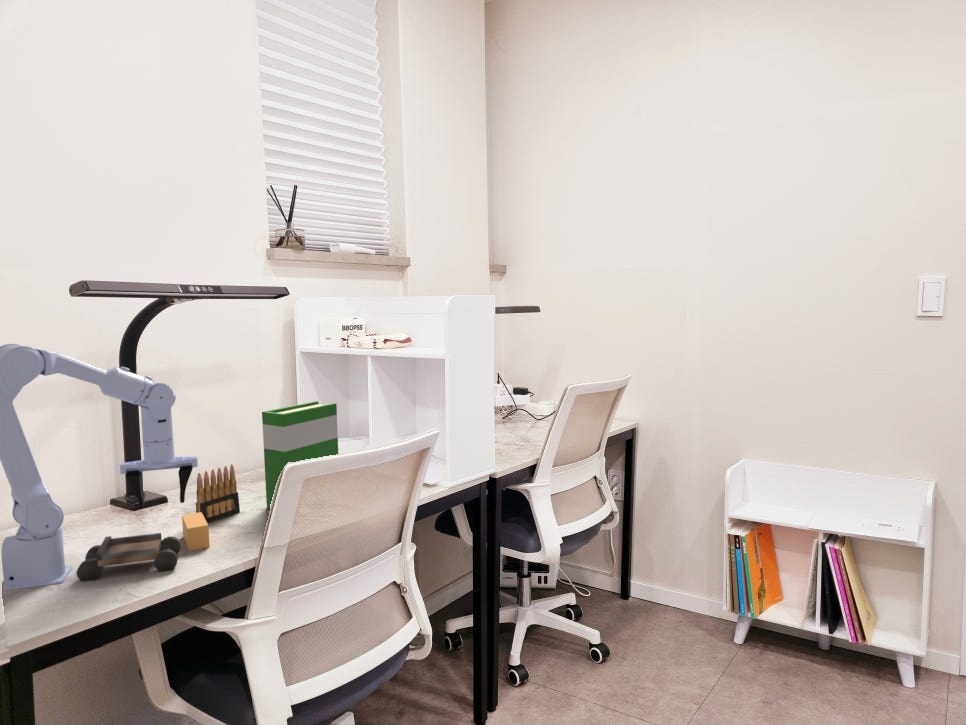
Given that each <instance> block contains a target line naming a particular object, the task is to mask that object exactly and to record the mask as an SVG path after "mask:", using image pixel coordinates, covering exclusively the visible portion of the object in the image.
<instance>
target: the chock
mask: <svg viewBox="0 0 966 725" xmlns="http://www.w3.org/2000/svg"><path fill="white" fill-rule="evenodd" d="M181 522H182V523H181V524H182V536H183V539H184V542H185V544H186V546H187V549H188V551H195V550H201V549H202V550H203V549H206V548H210V532H209V523H207V522H206V520H205V518H204V516H203V514H202V512H199V513H196V512H193V513H188V514H187V513H186V514H181Z"/></svg>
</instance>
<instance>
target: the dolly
mask: <svg viewBox="0 0 966 725" xmlns="http://www.w3.org/2000/svg"><path fill="white" fill-rule="evenodd" d="M181 546H182V544H181V541H180V539H179V538H177V537H175V536H167V537H164V538H163V539H162V532H155V533H148V534H140V535H139V534H138V535H130V536H122V537H112V535H111V536H109V535H108V536H105V537H104V539H103V540H102V542H101V544H97V545H94V546H91V547H90V548H89V549H88V550H87V552H86V553H85V558H84V559H85V560H84V561H82V562H81V563H80V564H79V566H78V568H77V570H76V575H77V576H76V577H77V579H78V580H79V581H81V582H90V581H91V582H92V581H97V580H98V579H99V578H100V577H101V575H102V573H103V567H107V566H109V567H110V566H115V565H125V564H131V563H133V564H134V563H141V562H147V561H153V560H154V562H153V565H154V568H155V569H156V570H157V571H158V572H161V573H162V572H169V571H173V570H174V569H175V568H176V566H177V564H178V560H179V558H178V555H179V553H180V551H181V548H182V547H181Z"/></svg>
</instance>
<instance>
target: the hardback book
mask: <svg viewBox="0 0 966 725" xmlns="http://www.w3.org/2000/svg"><path fill="white" fill-rule="evenodd" d="M337 413H338V406H337V403H336V402H333V403H327V404H320V403H319V401H317V400H315V401H309V402H305V403H299V404H295V405H290V406H289V405H288V406H285V407H279V408H275V409H271V410H269V409H268V410H265V411H261V420H262V421H261V422H262V438H263V439H262V440H263V456H264V457H263V458H264V462H263V463H264V476H265V480H264V481H265V495H266V496H265V499H266V500H265V501H266V508H267V509H269V508H270V504H271V501H272V497H273V494H274V490H275V486H276V483H277V480H278V477H279V475H280V473H281V471H282V470H283V468H284V466H285V465H286V464H287V463H288V462H296V461H300V460H305V459H311V458H318V457H323V456H329V455H336V454H338V455H339V437H338V434H339V431H338V414H337Z"/></svg>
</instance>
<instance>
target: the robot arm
mask: <svg viewBox="0 0 966 725" xmlns="http://www.w3.org/2000/svg"><path fill="white" fill-rule="evenodd" d="M130 370H131V369H130V368H128V367H125V366H120V368H119V367H112V368H109V369H107V370H104V369H102V368H98V367H96V366H93V365H92V364H91V365H90V364H88V363H86V362H83V361H80V360H78V359H75V358H72V357H70V356H68V355H65V354H61V353H60V352H59V353H58V352H55V351H49V350H44V349H38V348H34V347H30V346H26V345H20V344H16V343H7V344H3V345H0V463H1V466H2V468H3V469H2V470H3V472H4V474H5V475H6V479H7V481H8V483H9V486H10V492H11V493H10V494H11V495H10V496H11V498H12V501H13V507H12V517H13V520H14V521H15V522H16V523H17V524H19V527H18V529H17V531H16V533H15V535H10V536H6V537H4V539H3V542H2V544H1V545H2V546H1V551H0V552H1V554H0V555H1V565H2V566H1V569H2V576H3V590H2V591H11V590H18V589H19V590H20V589H28V588H34V587H43V586H50V585H57V584H58V585H59V584H62V583H64V582H65V581H66V578H67V577H68V575H69V574H70V572H71V570H72V568H73V565H71V564H70V565H66V560H65V559H66V558H65V548H64V537H63V526H62V525H63V523H64V519H65V518H64V517H65V515H64V510H63V509H62V507H61V506H60V505H58V504H57V503H55V501H54V500H53V498H52V496H51V494H50V492H49V490H48V488H47V487H46V485H45V484H44V482H43V479H42V477H41V475H40V472H39V469H38V466H37V463H36V461H35V458H34V456H33V453H32V451H31V448H30V446H29V442H28V439H27V438H26V434H25V432H24V430H23V427H22V425H21V421H20V420H19V417H18V416H19V415H18V414H17V412H16V409H15V406H14V404H13V402H14V401H15V399H16V398H17V396H18V394H20V392H21V390H22V389H23V388H24V387H25V386H27V385H28V384H30V383H31V382H32V381H34V380H35V379H36V378H37V377H39V375H41V376H45V377H46V376H51V375H55V374H56V375H57V374H61V375H64V376H67V377H71V378H73V379H77V380H80V381H84V382H87V383H90V384H93V385H97V387H99V388H100V390H101V393H102V394H103V395H104V396H108V397H111V398H113V399H116V400H120V401H123V402H126V403H130V404H133V405H137V406H139V407H140V415H141V416H140V417H141V419H140V420H141V431H142V433H141V434H142V436H141V437H142V447H143V448H142V449H143V459H141V460H134V461H133V460H132V461H127V462H121V463H120V464H119V470H120V471H119V472H120V475H125V474H126V476H125V479H126V481H127V483H128V484H129V485H130V487H131V488H132V490H133V492H134V494H135V495H136V499H137V501H138V504H139V508H144V507H145V505H146V503H145V502H146V501H145V494H144V486H143V484H144V483H143V482H144V479H143V478H144V477H143V475H144V474H143V472H148V471H149V472H151V471H152V472H153V471H160V470H161V471H162V470H171V469H173V470H174V469H179V470H178V479H179V503H180V504H184V503H185V500H186V499H185V498H186V497H185V496H186V489H187V485H188V482H189V480H190V477H191V474H192V472H193V468H198V467H199V458H198V457H199V456H198V455H197V456H175V445H174V444H175V443H174V432H173V431H174V430H173V428H174V427H173V416H172V407H173V406H174V405H175V402H176V399H177V395H175V393H174V391H173V388H171V387H170V386H169V385H168V384H166V383H162V382H158V381H155V380H153V377H151V376H148V375H145V377H144V376H142V375H138V374H136V373H133V372H130Z"/></svg>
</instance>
